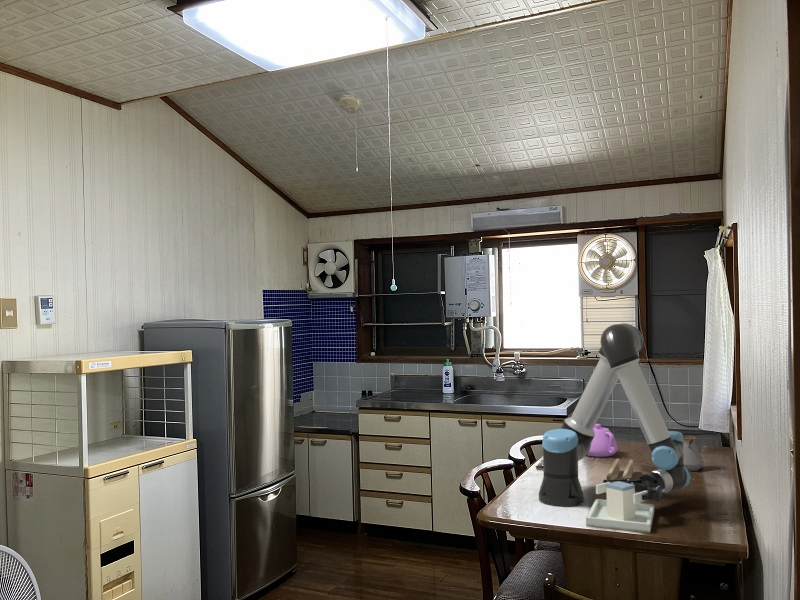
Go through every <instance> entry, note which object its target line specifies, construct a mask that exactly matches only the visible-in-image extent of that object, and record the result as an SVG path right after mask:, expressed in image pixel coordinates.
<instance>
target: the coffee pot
mask: <svg viewBox="0 0 800 600" xmlns="http://www.w3.org/2000/svg"><path fill="white" fill-rule="evenodd" d="M696 440H697V437H696V436H692V435H683V442H684V444H683V455H684V467H685V468H686V469H687V470H688V472H698V471H699V470H700V469H702V468H703V467H704V463H705V461H704V459H703V457H702V455H701V453H700V451H699V448H698V447H697V445H696Z"/></svg>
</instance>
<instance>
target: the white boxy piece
mask: <svg viewBox="0 0 800 600" xmlns="http://www.w3.org/2000/svg"><path fill="white" fill-rule="evenodd" d="M606 491H607V492H606V500H607V517H611V518H615V519H618V520H623V521H625V520H628V519H632V518H635V504H634V503H633V494H635V493H636V491H635V485H633V484H629V483H624V482H620V481H617V482H613V483H609V484H606Z"/></svg>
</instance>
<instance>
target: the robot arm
mask: <svg viewBox="0 0 800 600" xmlns="http://www.w3.org/2000/svg"><path fill="white" fill-rule="evenodd" d="M640 331H641V330H639V329H638V328H637V327H636V326H634V325H633V324H629V323H625V322H624V323H615V324H612V325H609V326H608V327H606V328H605V329H604V331H603V332H602V333H601V336H600V348H599V350H598V352H597V355H598V356H599V360H598V362H597V364H596V366H595V368H594V369H593V372H592V374H591V376H590V378H589V381H588V383H587V385H586V386H585V388H584V390H583V392H582V394H581V396H580V398H579V400H578V402H577V404H576V406H575V408H574V411H573V412H572V414H571V417H567V418H564V421H563V422H562V425H561V426H560V428H554V429H550V430H547V431H546V432H544V433H543V437H542V460H543V470H544V471H543V470H542V471H543V478H542V481H541V484H540V488H539V490H538V500H539V502H540V503H543V504H546V505H551V506H557V507H573V506H580V505H583V504H584V503H585V494H584V491H583V487H582V485H581V482H580V478H579V461H581V460H582V459H584V458H585V457H586V456H588V455H587V454H588V452H589V450H590V447H591V442H592V440H593V438H594V436H595V432H594V426H595V424H597V423H598V420H599V418H600V416H601V415H602V412H603V410H604V409H605V407H606V404H607V402H608V401H609V399H610V397H611V394H612V393H613V392H614V391H613V390H614V389H615V387H616V385H617V383H618V381H619V382H620V384H621V387H622V389H623V391H624V393H625V396H626V398H627V400H628V402H629V405H630V407H631V409H632V411H633V413H634V415H635V418H636V420H637V422H638V425H639V428H640V429H641V431H642V434H643V436H644V438H645V441H646V443H647V446H648V447H649V448H648V449H649V450H650V453H651V461H652V463H653V465H654V466H655V467H656V468H657V469H656V470H652V471H650V472H645V473H643V474H642V475H640V477H639V478H637V479H632V477H631V478H625V479H622V478H616V479H611V480H607V479H603V480H602V483H599V484H596V485H595V494H596V495H600V494H604V493H607V491H606V484H609V483H613V482H617V481H620V482H624V483H629V484H633V485H635V494H633V503H634V504H636V503H643V502H645V501H654V500H655V502H656V501H657V502H661V501H660V500H661V499H662V497H663V495H665V494H667V493H670V492H673V491H678V490H679V491H680V490H682V489H683V488H686V487H687V486H688V485H689V483H690V482H691V474H690V471H688V470H687V469H686V468H685V467H684V455H683V444H684V442H683V436H684V435H683V433H682V432H680V431H676V430H675V431H674V430H668V427H667V425H666V423H665V420H664V418H663V415H662V414H661V411H660V409H659V407H658V404H657V403H656V401H655V398H654V395H653V394H652V391H651V389H650V386H649V385H648V382H647V380H646V378H645V375H644V373H643V371H642V369H641V367H640V364H639V363H640V357H639V354H638V353H639V352H640V351H641V350H642V348H643V344H644V341H643V339H644V338H643V335H642V333H641V332H640Z"/></svg>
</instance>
